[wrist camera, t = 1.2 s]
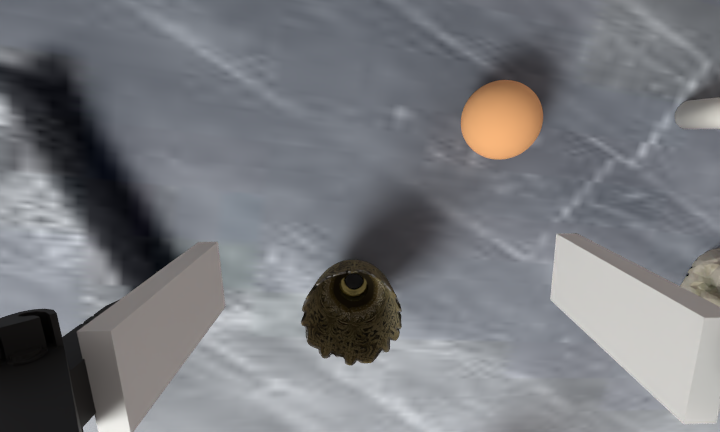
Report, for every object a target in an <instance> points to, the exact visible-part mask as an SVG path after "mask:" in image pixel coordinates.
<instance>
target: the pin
mask: <svg viewBox="0 0 720 432" xmlns="http://www.w3.org/2000/svg"><path fill="white" fill-rule="evenodd" d="M675 122H676V124H677V125H678V126H679V127H680V128H682V129H720V97H717V98H707V99H698V100H689V101H686V102H684V103H682V104H681V105H680V106H679V107H678V108H677V110H676V112H675Z"/></svg>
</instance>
